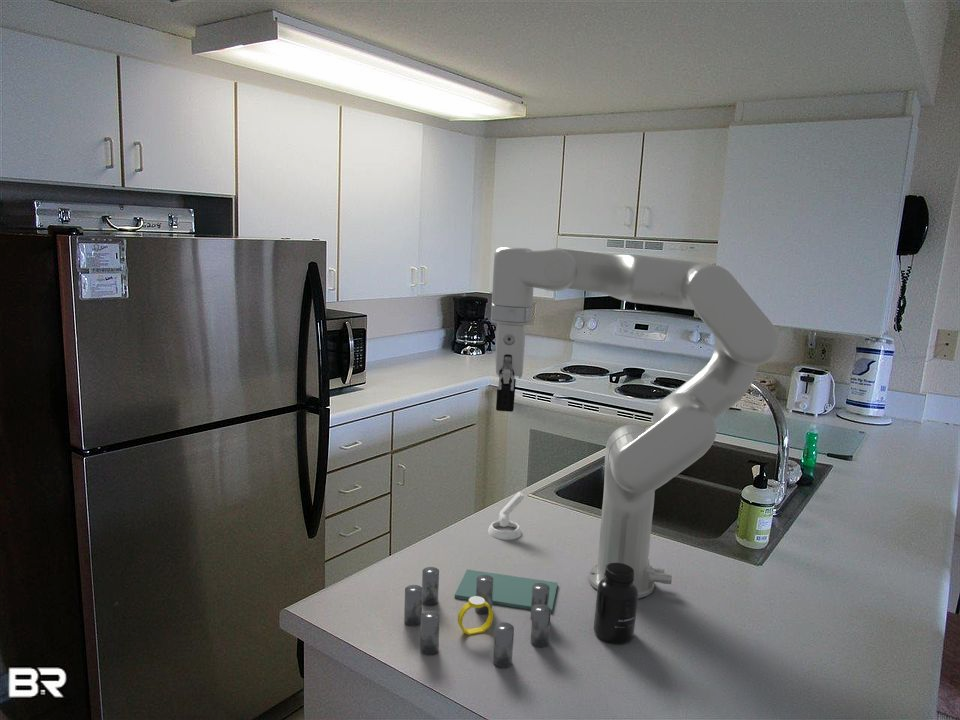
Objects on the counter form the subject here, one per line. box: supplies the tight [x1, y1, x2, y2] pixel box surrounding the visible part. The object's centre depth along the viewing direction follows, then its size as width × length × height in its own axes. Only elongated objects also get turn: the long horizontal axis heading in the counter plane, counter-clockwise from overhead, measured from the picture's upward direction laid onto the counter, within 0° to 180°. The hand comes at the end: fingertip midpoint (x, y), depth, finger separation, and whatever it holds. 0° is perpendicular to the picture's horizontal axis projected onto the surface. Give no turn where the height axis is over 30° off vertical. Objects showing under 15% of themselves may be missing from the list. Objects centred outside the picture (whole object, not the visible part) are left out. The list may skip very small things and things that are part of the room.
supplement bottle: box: [593, 563, 639, 645], centre depth 116 cm, size 7×7×12 cm
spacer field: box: [403, 566, 552, 669], centre depth 115 cm, size 25×17×6 cm
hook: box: [487, 491, 525, 541], centre depth 153 cm, size 8×12×7 cm
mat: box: [454, 568, 559, 614], centre depth 129 cm, size 18×10×1 cm, turn 78°
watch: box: [457, 596, 494, 636], centre depth 115 cm, size 6×3×6 cm, turn 111°
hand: (505, 404), depth 129 cm, fingers open, 9 cm apart
